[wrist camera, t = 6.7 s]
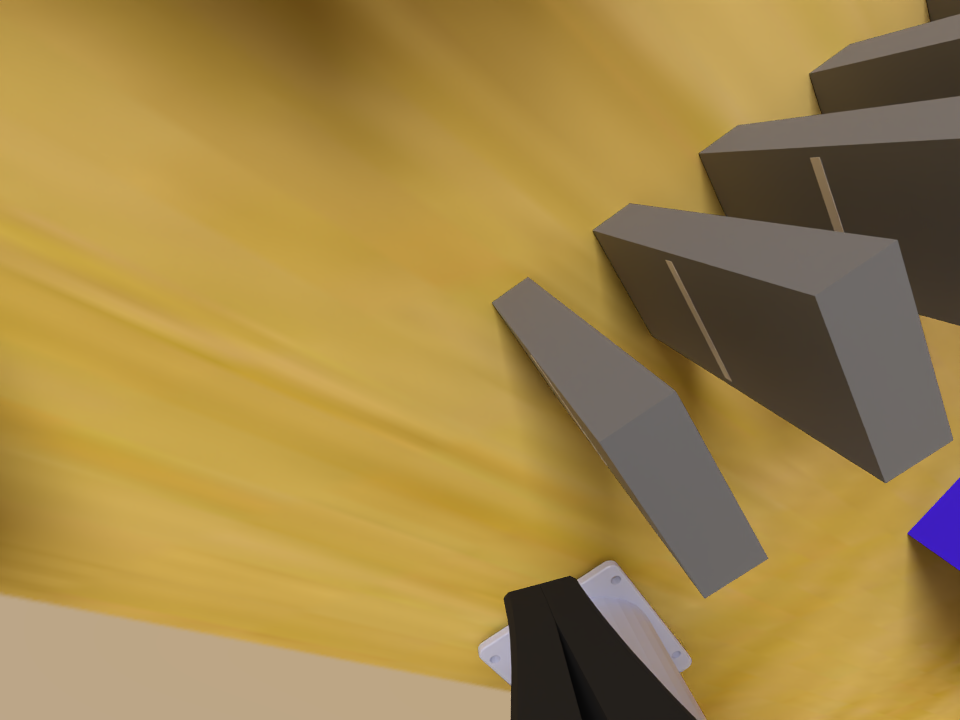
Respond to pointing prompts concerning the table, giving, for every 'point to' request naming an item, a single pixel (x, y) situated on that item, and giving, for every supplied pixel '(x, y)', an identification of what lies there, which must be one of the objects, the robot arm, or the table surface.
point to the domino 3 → (858, 184)
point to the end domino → (943, 8)
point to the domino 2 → (892, 69)
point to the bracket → (942, 527)
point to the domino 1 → (638, 437)
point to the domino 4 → (790, 324)
